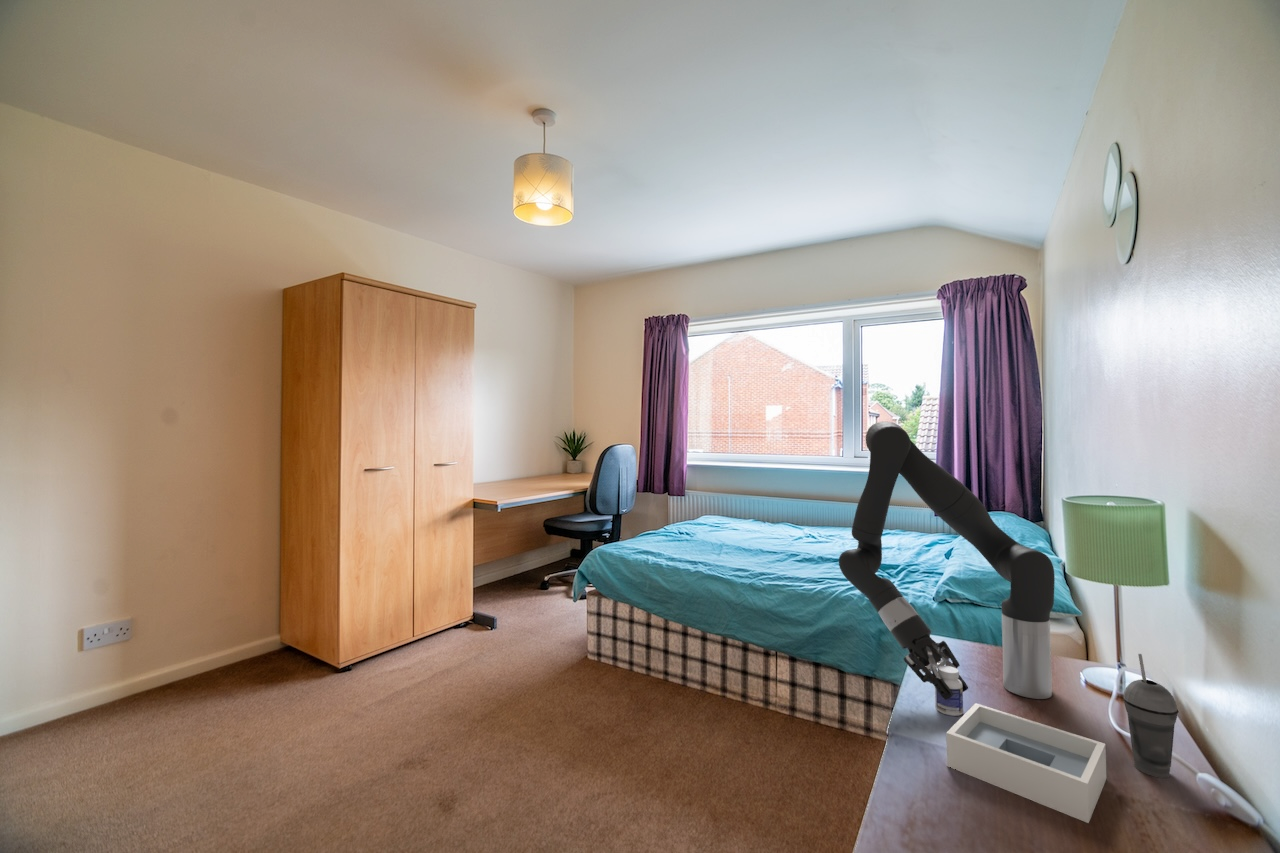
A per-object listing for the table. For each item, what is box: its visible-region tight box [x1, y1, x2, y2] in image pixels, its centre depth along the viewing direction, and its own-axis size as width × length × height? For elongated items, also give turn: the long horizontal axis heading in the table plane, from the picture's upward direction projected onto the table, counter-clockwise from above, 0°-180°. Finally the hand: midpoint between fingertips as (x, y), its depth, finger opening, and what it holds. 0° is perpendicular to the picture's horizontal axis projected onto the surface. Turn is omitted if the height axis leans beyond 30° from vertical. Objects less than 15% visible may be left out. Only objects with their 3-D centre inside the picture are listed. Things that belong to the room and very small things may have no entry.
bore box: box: [945, 702, 1107, 824], centre depth 97 cm, size 16×20×6 cm
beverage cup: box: [1122, 653, 1179, 779], centre depth 97 cm, size 7×7×20 cm
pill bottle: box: [934, 665, 964, 717], centre depth 119 cm, size 5×5×9 cm
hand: (957, 693), depth 117 cm, fingers closed on pill bottle, 5 cm apart
